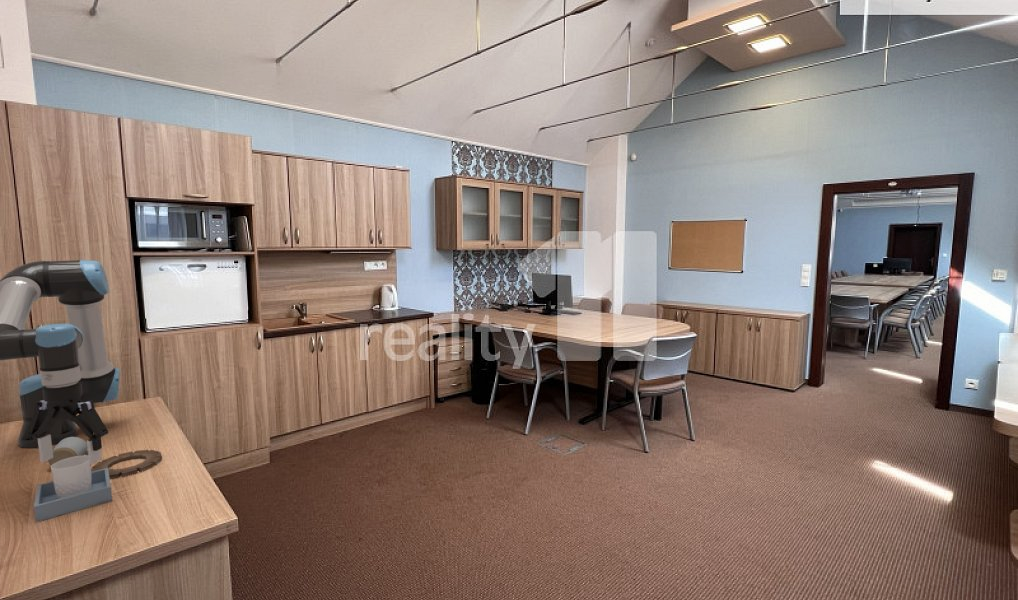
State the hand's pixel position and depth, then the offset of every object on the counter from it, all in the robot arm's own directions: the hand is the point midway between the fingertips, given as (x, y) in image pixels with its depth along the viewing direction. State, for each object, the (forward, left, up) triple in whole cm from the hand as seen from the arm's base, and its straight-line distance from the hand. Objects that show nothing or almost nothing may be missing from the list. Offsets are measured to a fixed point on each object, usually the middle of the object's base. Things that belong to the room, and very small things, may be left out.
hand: (71, 460), depth 128 cm
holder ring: (-16, +12, -11) cm, 22 cm away
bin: (0, 0, -11) cm, 11 cm away
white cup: (0, 0, -10) cm, 10 cm away
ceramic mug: (-29, 0, -11) cm, 31 cm away
